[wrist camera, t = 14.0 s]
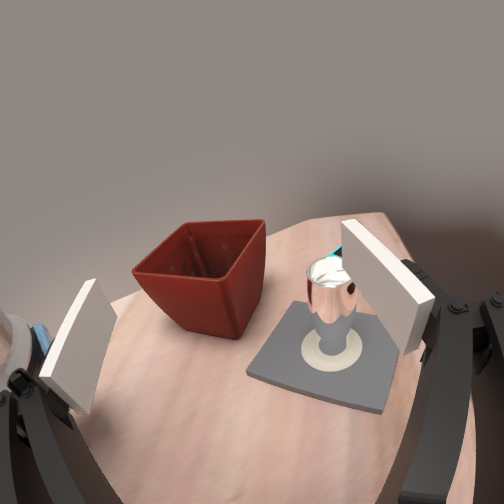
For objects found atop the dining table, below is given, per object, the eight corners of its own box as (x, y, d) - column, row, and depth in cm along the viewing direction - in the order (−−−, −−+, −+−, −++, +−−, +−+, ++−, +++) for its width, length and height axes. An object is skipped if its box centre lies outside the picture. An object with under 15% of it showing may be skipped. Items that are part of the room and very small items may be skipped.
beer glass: (302, 350, 41) (293, 275, 34) (328, 324, 45) (325, 250, 37) (336, 370, 36) (339, 295, 29) (361, 341, 40) (369, 264, 32)
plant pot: (248, 357, 44) (222, 279, 36) (163, 339, 52) (128, 271, 44) (279, 289, 59) (266, 218, 51) (205, 283, 67) (184, 222, 59)
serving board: (247, 375, 41) (245, 369, 40) (294, 305, 54) (293, 299, 53) (380, 414, 29) (383, 409, 28) (403, 325, 42) (405, 318, 41)
